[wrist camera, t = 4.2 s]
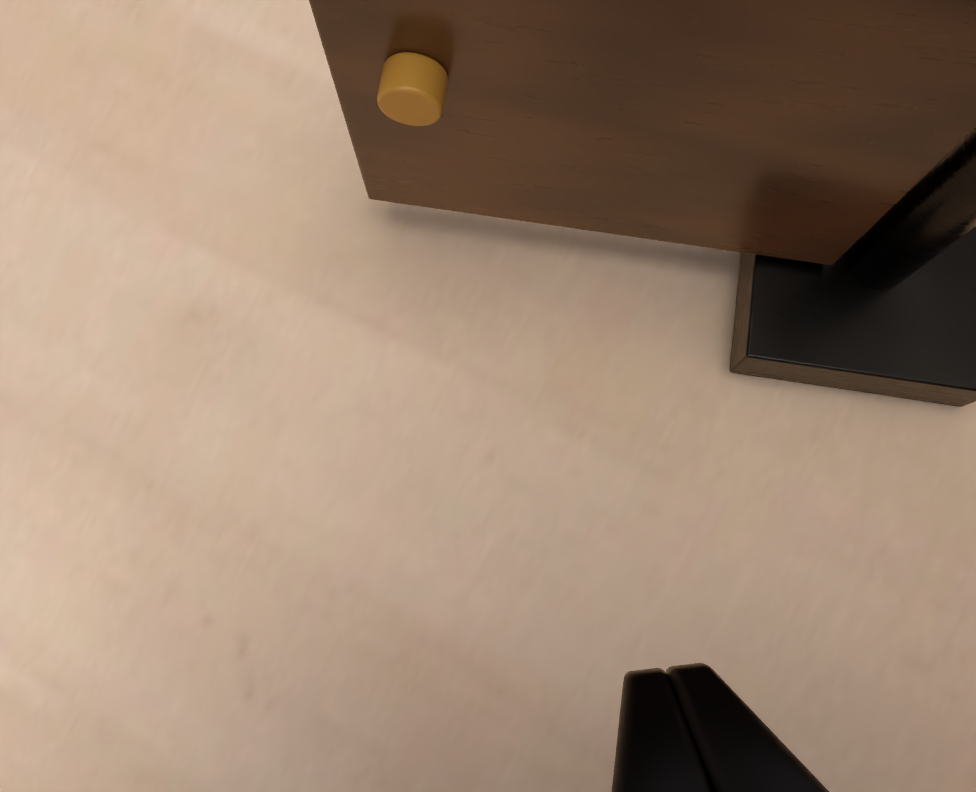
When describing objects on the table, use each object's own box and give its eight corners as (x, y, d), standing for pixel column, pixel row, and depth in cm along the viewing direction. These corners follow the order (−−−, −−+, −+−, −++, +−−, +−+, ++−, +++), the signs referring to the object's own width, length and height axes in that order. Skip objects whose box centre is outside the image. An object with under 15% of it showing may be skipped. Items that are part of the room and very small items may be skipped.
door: (834, 229, 21) (1140, -93, 11) (830, 297, 20) (1143, 26, 11) (375, 163, 21) (280, -202, 11) (362, 229, 21) (251, -92, 11)
